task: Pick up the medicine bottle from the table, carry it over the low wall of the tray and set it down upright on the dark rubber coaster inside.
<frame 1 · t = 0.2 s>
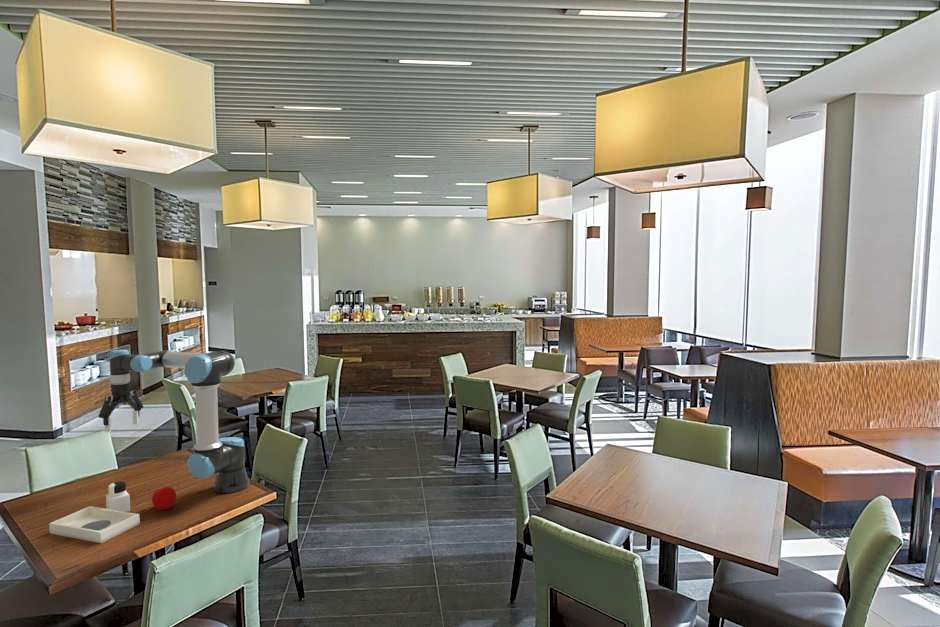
hand: (122, 428, 245), 28 cm above the table, fingers open, 13 cm apart
fruit: (164, 508, 223), on the table
tray: (95, 528, 204), on the table
medicine bottle: (118, 511, 220), on the table
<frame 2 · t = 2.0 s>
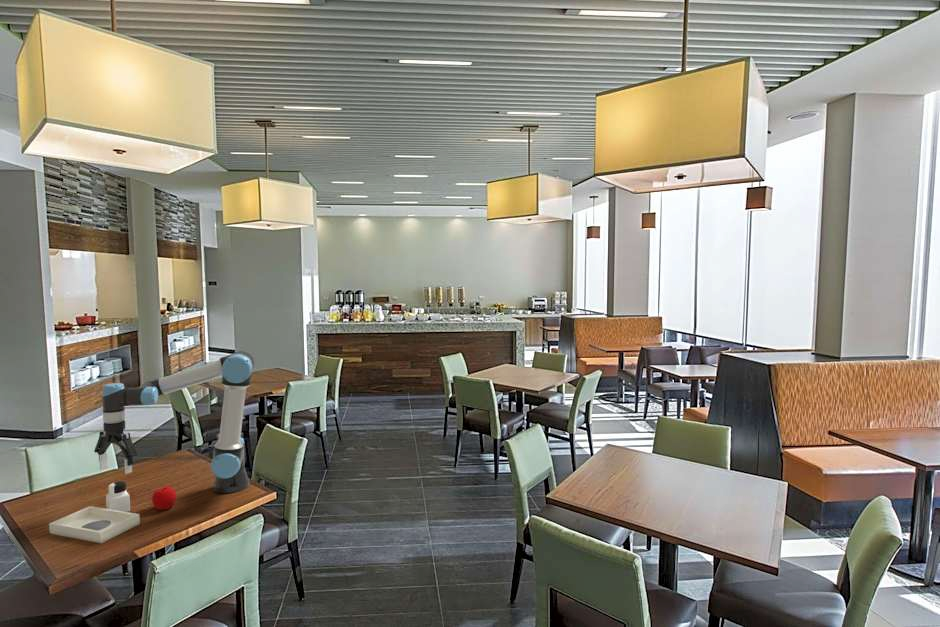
hand: (116, 471, 219), 17 cm above the table, fingers open, 13 cm apart
nothing on the table moved.
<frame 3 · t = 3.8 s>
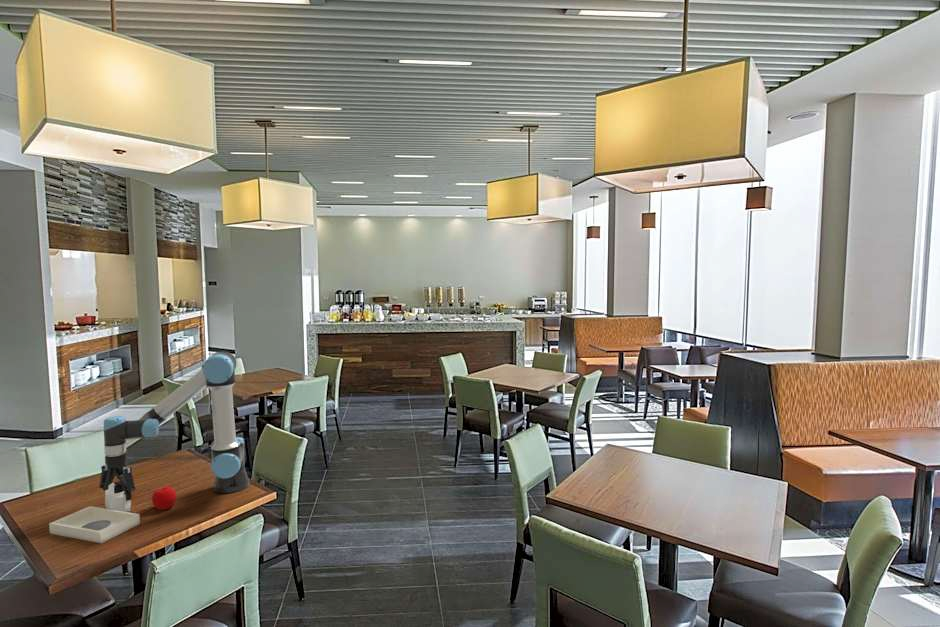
hand: (118, 506, 220), 2 cm above the table, fingers closed on medicine bottle, 9 cm apart
medicine bottle: (118, 511, 220), on the table, touching gripper
everything else where it was.
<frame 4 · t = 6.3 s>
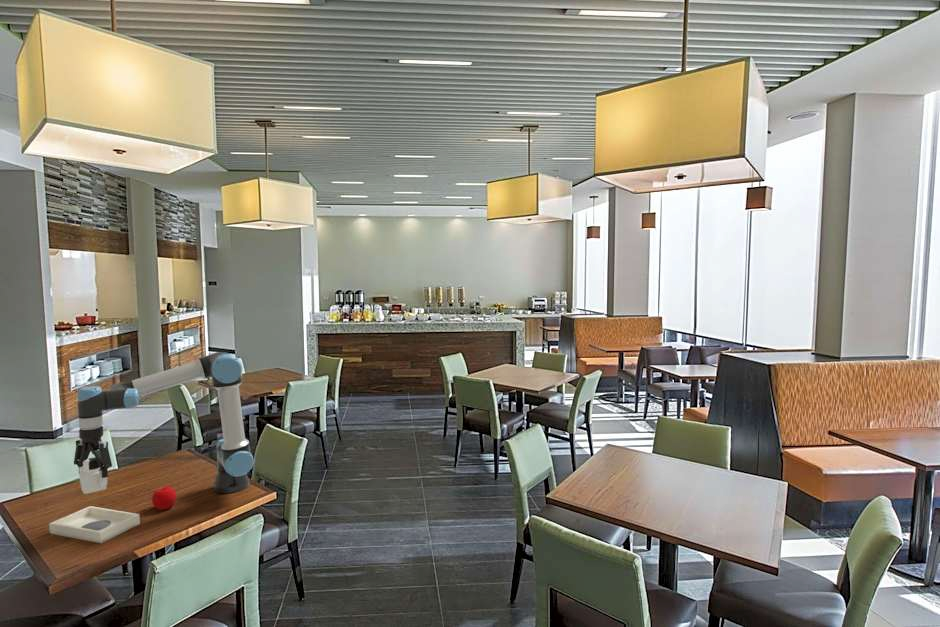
hand: (93, 483, 204), 18 cm above the table, fingers closed on medicine bottle, 9 cm apart
medicine bottle: (93, 489, 204), point 15 cm above the table, touching gripper
everything else where it was.
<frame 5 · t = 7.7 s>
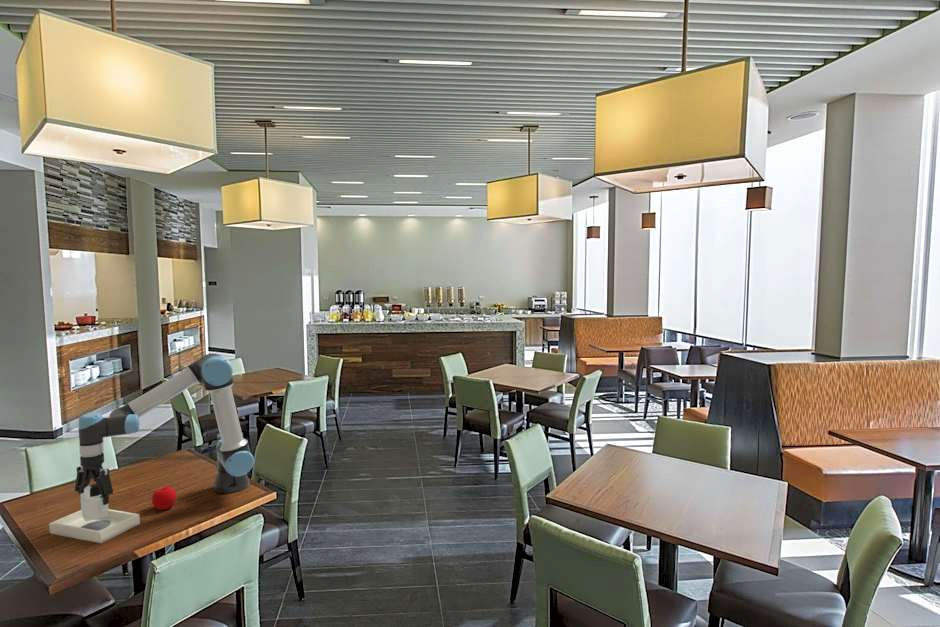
hand: (94, 510, 204), 7 cm above the table, fingers closed on medicine bottle, 9 cm apart
medicine bottle: (94, 516, 204), point 5 cm above the table, touching gripper
everything else where it was.
when the fingers open (4 cm above the table, at t = 8.8 s): medicine bottle stays where it is, resting on tray.
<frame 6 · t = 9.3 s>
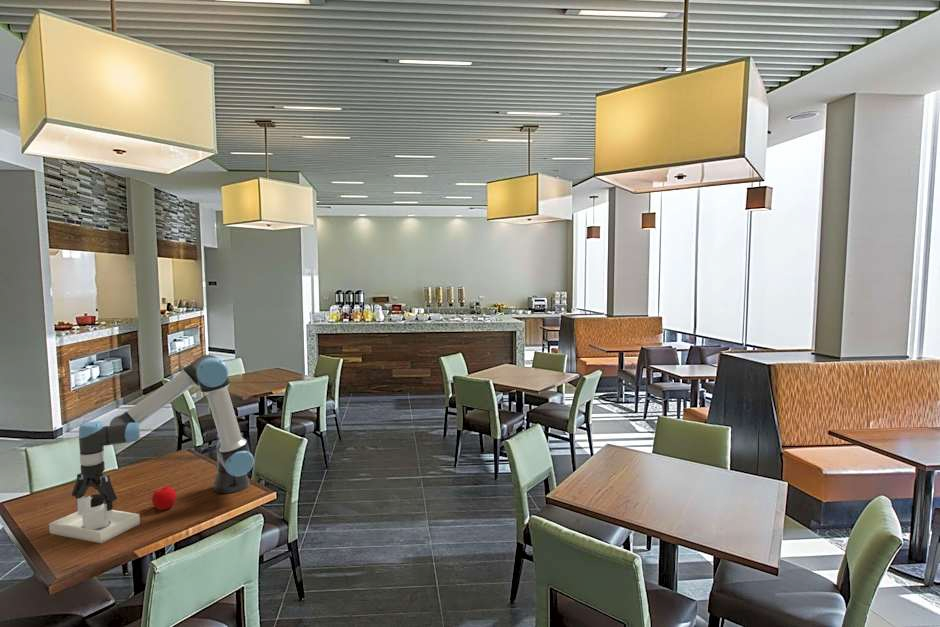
hand: (95, 516, 204), 5 cm above the table, fingers open, 13 cm apart
medicine bottle: (95, 526, 204), point 1 cm above the table, touching tray
everything else where it was.
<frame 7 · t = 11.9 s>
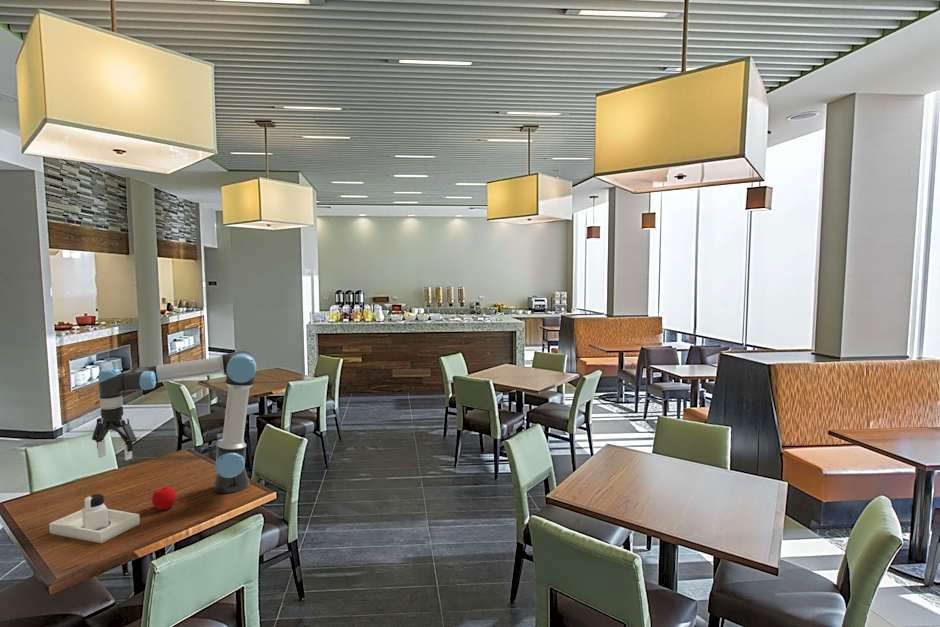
hand: (115, 458, 215), 24 cm above the table, fingers open, 13 cm apart
nothing on the table moved.
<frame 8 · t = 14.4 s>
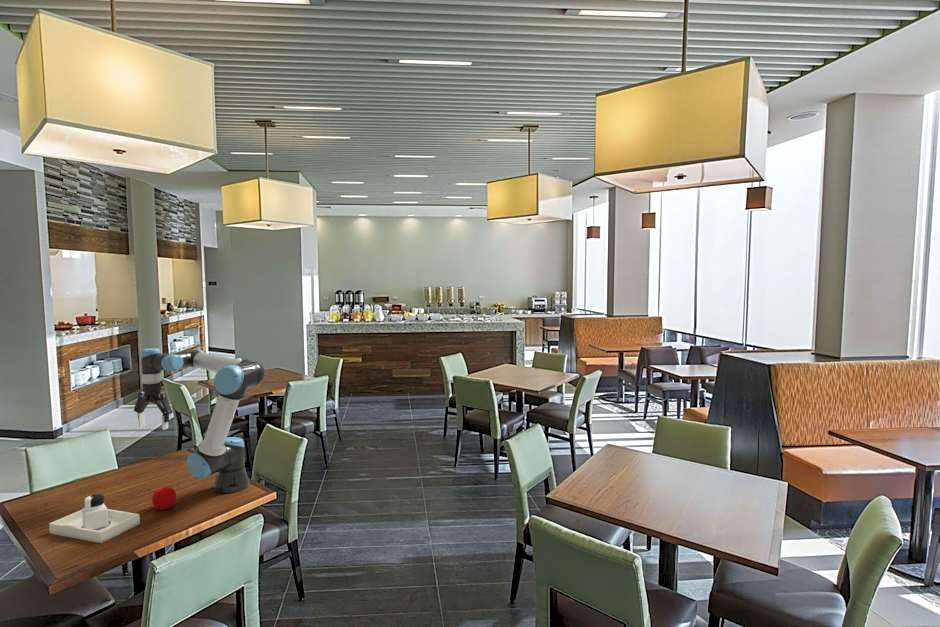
hand: (153, 427, 242), 29 cm above the table, fingers open, 13 cm apart
nothing on the table moved.
at the end: medicine bottle inside the target area on the tray (0.0 cm from its centre), point 0.8 cm above the tray's base; medicine bottle tilted 0°; the gripper is holding nothing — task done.
